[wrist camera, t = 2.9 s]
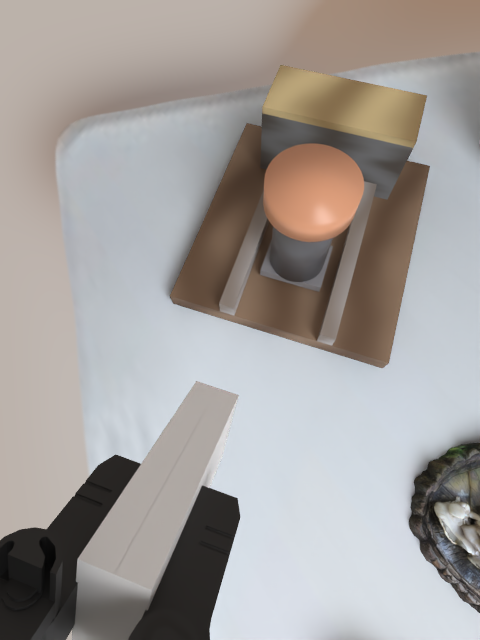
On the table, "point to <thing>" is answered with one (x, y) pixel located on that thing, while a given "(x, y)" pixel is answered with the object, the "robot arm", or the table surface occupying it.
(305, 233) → the knob
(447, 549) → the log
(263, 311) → the brown sliding knob board
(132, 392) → the table surface
